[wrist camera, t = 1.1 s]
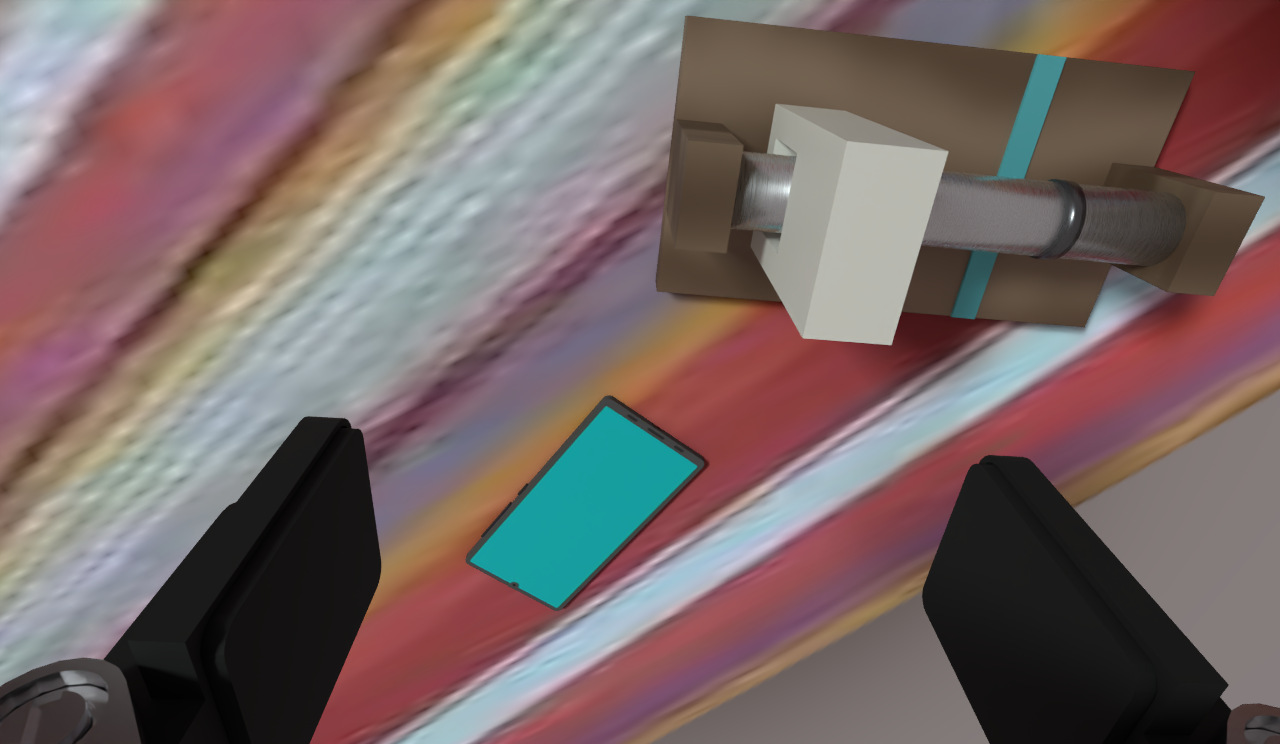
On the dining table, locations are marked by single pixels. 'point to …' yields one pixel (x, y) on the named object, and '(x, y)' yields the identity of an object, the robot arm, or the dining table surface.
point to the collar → (848, 222)
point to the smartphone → (584, 504)
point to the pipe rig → (949, 169)
